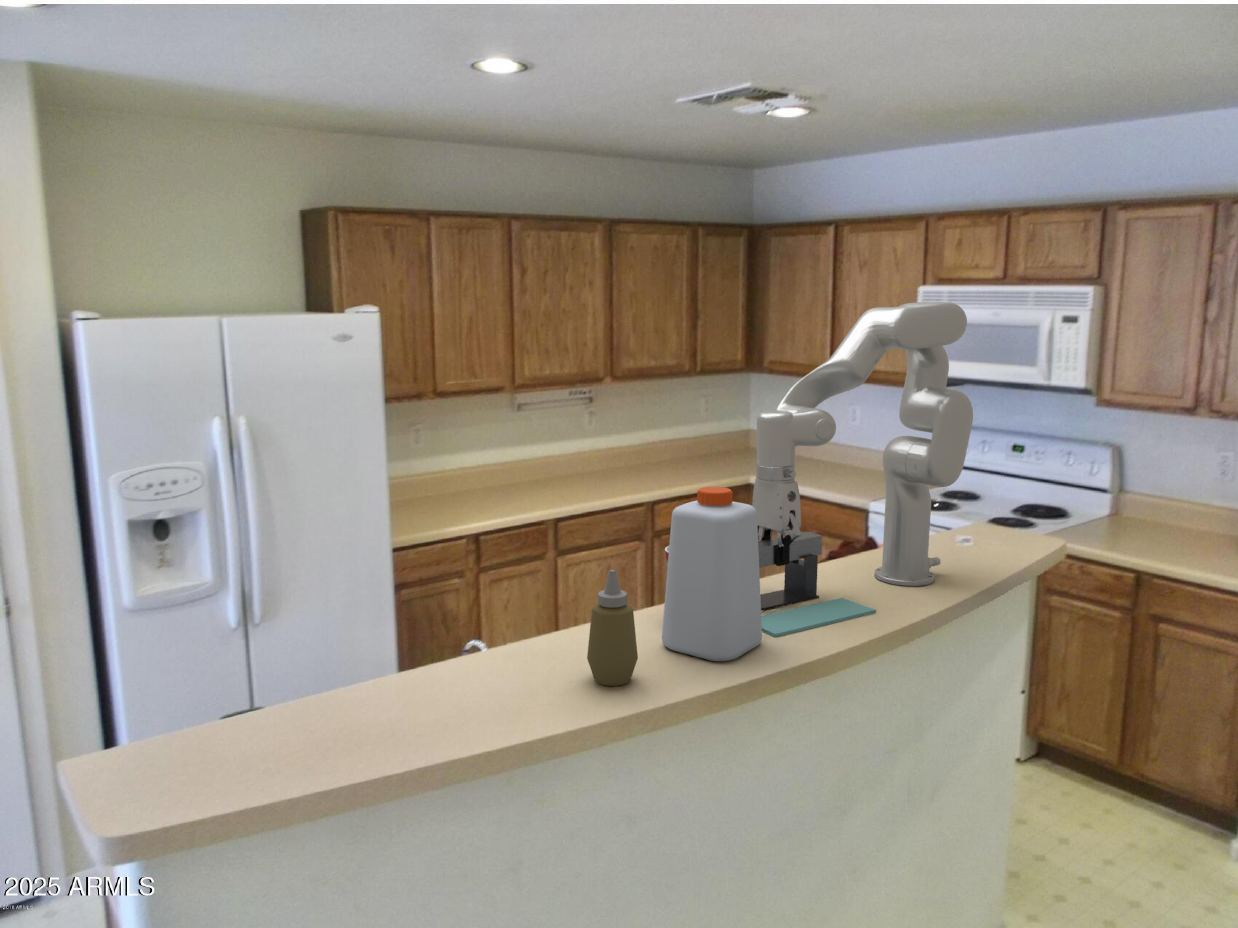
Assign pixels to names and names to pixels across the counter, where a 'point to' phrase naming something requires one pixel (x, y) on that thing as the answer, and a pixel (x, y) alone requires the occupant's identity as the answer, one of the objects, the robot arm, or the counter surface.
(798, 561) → the brackets
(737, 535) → the plastic bottle
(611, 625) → the squeeze bottle
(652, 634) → the counter surface
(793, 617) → the mat
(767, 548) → the rail
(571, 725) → the counter surface
